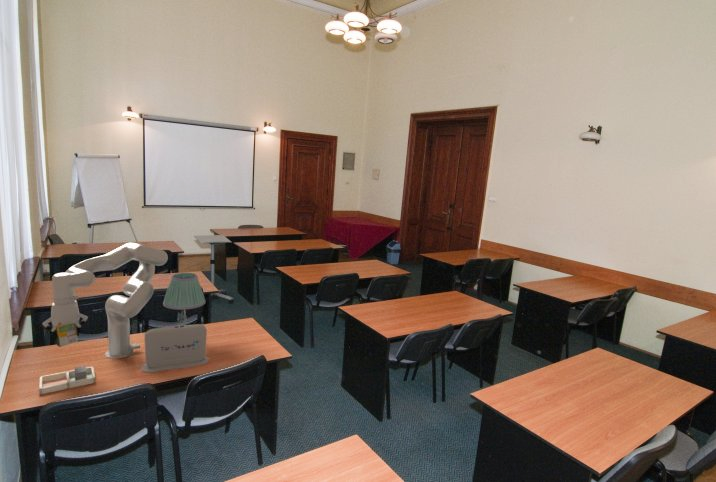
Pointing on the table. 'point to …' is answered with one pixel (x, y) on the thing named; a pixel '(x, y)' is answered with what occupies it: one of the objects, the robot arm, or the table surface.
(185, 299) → the table lamp
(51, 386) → the divided tray
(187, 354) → the wireless router
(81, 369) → the grey block
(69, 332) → the crayon box
